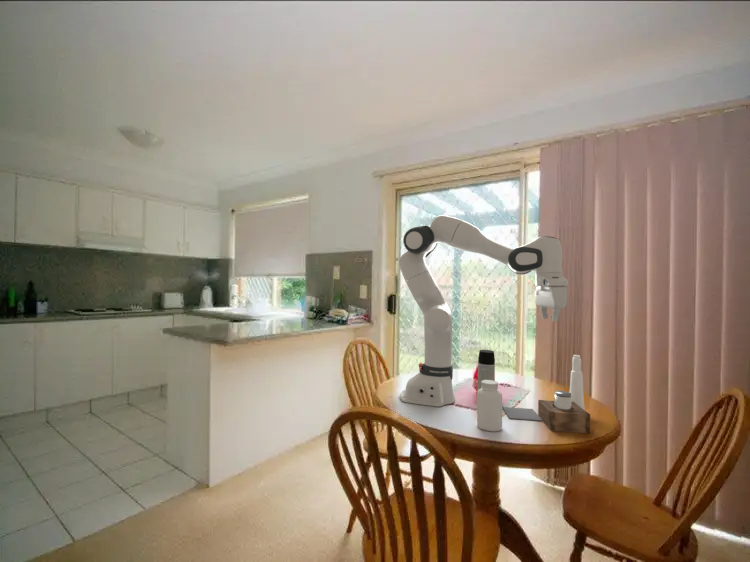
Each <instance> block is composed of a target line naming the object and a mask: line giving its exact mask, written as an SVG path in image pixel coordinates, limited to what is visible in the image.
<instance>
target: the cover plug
mask: <svg viewBox="0 0 750 562" xmlns="http://www.w3.org/2000/svg"><path fill="white" fill-rule="evenodd" d="M554 401H555V408H558V409H561V410H571V393H570V391H565V390H555V391H554Z"/></svg>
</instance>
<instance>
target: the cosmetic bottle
mask: <svg viewBox="0 0 750 562" xmlns="http://www.w3.org/2000/svg"><path fill="white" fill-rule="evenodd" d="M572 355H573V356H572V360H571V361H572V365H571V366H572V367H571V368H572V370H570V381H569V393H571V402H575V403H576V404H577V405H578V406H580V407H581V408H582V409H584V410H585V411H586V409H585V398H584V377H583V371H582V358H581V355H579V354H572Z"/></svg>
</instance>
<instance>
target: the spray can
mask: <svg viewBox="0 0 750 562" xmlns="http://www.w3.org/2000/svg"><path fill="white" fill-rule="evenodd" d="M477 359H478V361H477V362H478V363H477V391H478V390H479V389H481V381H482V380H493V381H496V380H495V379H496V376H495V374H496V372H495V371H496V370H495V369H496V367H495V366H496V358H495V351H494V350H491V349H480V350H479V353H478V358H477Z"/></svg>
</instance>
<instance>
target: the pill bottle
mask: <svg viewBox="0 0 750 562" xmlns="http://www.w3.org/2000/svg"><path fill="white" fill-rule="evenodd" d="M502 407H503V394H502V392H501V391H500V390H499V383H498V382H497V381H496V380H495V381H493V380H482V381H481V389H479V390H478V389H477V391H476V425H477V427H478V428H479V429H481V430H484V431H486V432H487V431H488V432H499V431H501V430H502V429H503V408H502Z"/></svg>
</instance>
